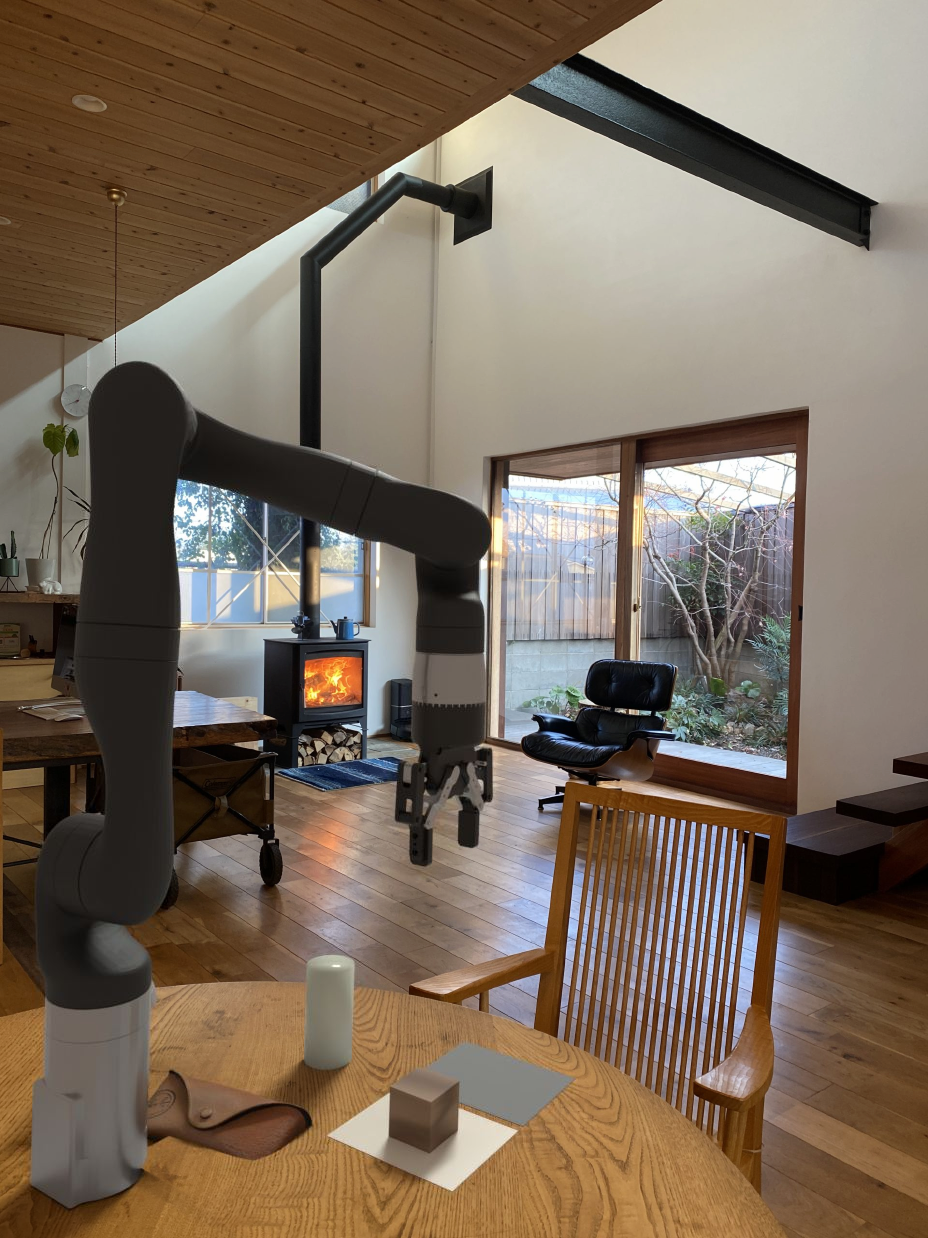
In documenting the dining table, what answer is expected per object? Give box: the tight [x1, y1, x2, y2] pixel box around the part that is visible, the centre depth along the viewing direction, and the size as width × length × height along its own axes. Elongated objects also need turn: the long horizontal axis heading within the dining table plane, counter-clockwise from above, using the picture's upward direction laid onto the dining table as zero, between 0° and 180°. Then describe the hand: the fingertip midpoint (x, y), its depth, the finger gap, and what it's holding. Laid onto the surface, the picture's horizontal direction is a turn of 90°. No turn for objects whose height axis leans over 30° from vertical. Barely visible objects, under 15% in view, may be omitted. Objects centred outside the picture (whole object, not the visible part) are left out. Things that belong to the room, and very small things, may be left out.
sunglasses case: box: [147, 1069, 313, 1161], centre depth 94 cm, size 18×7×7 cm
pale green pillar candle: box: [303, 954, 356, 1071], centre depth 108 cm, size 6×6×12 cm
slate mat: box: [424, 1041, 576, 1128], centre depth 104 cm, size 12×15×1 cm
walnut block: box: [388, 1065, 460, 1154], centre depth 93 cm, size 5×5×5 cm
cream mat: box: [326, 1092, 519, 1192], centre depth 93 cm, size 12×15×1 cm
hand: (445, 855), depth 94 cm, fingers open, 8 cm apart
